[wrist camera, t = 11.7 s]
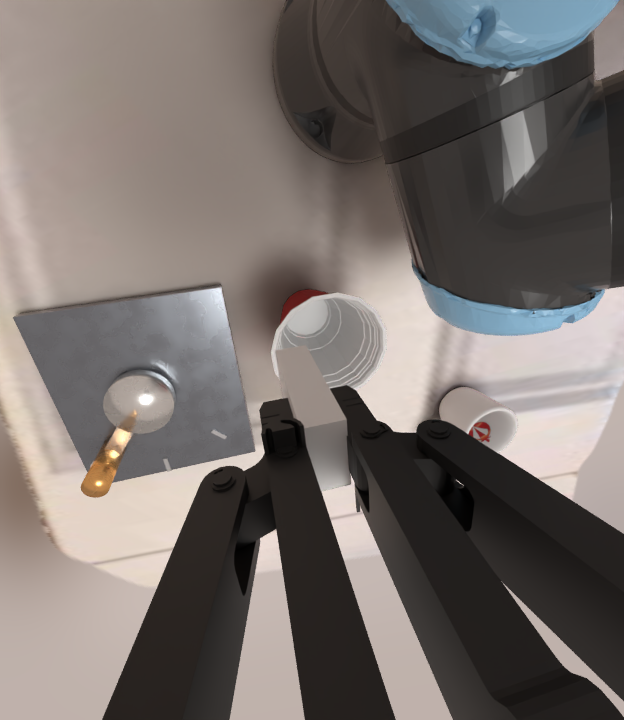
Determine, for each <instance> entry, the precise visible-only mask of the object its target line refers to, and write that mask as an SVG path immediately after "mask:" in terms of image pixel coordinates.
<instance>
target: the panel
mask: <svg viewBox="0 0 624 720" xmlns="http://www.w3.org/2000/svg"><path fill="white" fill-rule="evenodd" d="M13 319H14V321H15V323H16V325H17V327H18V329H19V331H20V333H21V335H22V337H23V339H24V341H25V343H26V346H27V348H28V350H29V352H30V354H31V356H32V358H33V360H34V362H35V364H36V366H37V368H38V370H39V373H40V375H41V377H42V379H43V381H44V383H45V385H46V387H47V389H48V391H49V393H50V395H51V397H52V399H53V402H54V404H55V406H56V408H57V410H58V412H59V414H60V416H61V418H62V420H63V422H64V424H65V426H66V429H67V431H68V433H69V435H70V437H71V439H72V441H73V443H74V445H75V447H76V449H77V451H78V453H79V456H80V458H81V460H82V462H83V464H84V466H85V468H86V470H87V472H88V471H89V469H90V467H91V465H92V464H93V462H94V460H95V458H96V456H97V454H98V452H99V450H100V448H101V447H102V445H103V444H104V443H106V442H108V441H109V440H110V438H111V436H112V435H113V433H114V431H115V429H116V426H115V425H113V424H112V423H111V422H110V421H109V419H108V418H107V416H106V415H105V412H104V409H103V400H104V396H105V394H106V392H107V391H108V389H109V388H110V386H111V385H112V383H113V382H114V381H115V379H116V378H118V377H119V376H120V375H122V374H124V373H126V372H129V371H133V370H148V371H152V372H155V373H158V374H160V375H161V376H163V377H164V378H166V379H167V380H168V381H169V382H170V383H171V385H172V386H173V388H174V391H175V395H176V402H175V406H174V410H173V414H172V416H171V418H170V420H169V421H168V423H167V424H166V425H164V426H163V427H162V428H160V429H158V430H156V431H154V432H150V433H144V434H136V433H133V435H132V436H131V438H130V440H129V442H128V443H127V445H126V447H125V453H124V456H123V458H122V460H121V463H120V465H119V467H118V470H117V472H116V474H115V477H114V479H113V482H118V481H122V480H127V479H131V478H136V477H141V476H145V475H150V474H154V473H159V472H163V471H167V472H168V471H171V470H173V469H177V468H182V467H186V466H191V465H196V464H200V463H205V462H209V461H214V460H219V459H223V458H228V457H232V456H237V455H241V454H246V453H251V452H255V444H254V439H253V434H252V429H251V425H250V420H249V415H248V410H247V405H246V401H245V396H244V391H243V386H242V381H241V377H240V372H239V367H238V362H237V358H236V353H235V348H234V343H233V338H232V334H231V329H230V324H229V319H228V314H227V310H226V305H225V300H224V295H223V291H222V286H221V285H215V286H208V287H201V288H194V289H187V290H180V291H173V292H166V293H159V294H152V295H144V296H137V297H130V298H123V299H116V300H109V301H102V302H95V303H88V304H81V305H74V306H67V307H60V308H53V309H46V310H39V311H32V312H25V313H20V314H18V315H16V316H14V317H13ZM113 482H112V483H113Z"/></svg>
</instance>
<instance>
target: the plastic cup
mask: <svg viewBox="0 0 624 720" xmlns="http://www.w3.org/2000/svg"><path fill="white" fill-rule="evenodd" d="M303 345H306V346H307V348H308V350H309V352H310V354H311V356H312V357H313V359H314V361H315V363H316V365H317V366H318V368H319V370H320V372H321V374H322V375H323V377H324V379H325V381H326V383H327V385H328V386H329V388H335V387H340V386H345V385H348V386H349V387H351V388H353V389H355V390H357V389H359V388H361V387H362V386H364V385H365V384H366V383H367V382H368V381H369V380H370V379H371V377H372V376H373V375H374V374H375V373H376V372H377V371H378V370H379V368H380V365H381V363H382V360H383V358H384V355H385V353H386V350H387V333H386V327H385V325H384V323H383V321H382V319H381V317H380V315H379V313H378V311H377V310H376V309H375V308H373V307H372V306H371V305H369V304H368V303H367V302H365V301H364V300H363V299H362V298H360V297H355V296H351V295H346V294H342V293H337V292H335V293H326V292H321V291H317V290H310V289H307V290H302V291H298V292H296V293H295V294H293V295H292V296H290V297H289V298H288V300H287V301H286V303H285V304H284V306H283V310H282V315H281V320H280V325H279V327H278V328H277V330H276V333H275V337H274V341H273V345H272V349H271V356H272V361H273V366H274V371H275V374H276V375H277V377H278V378H279V372H278V366H277V359H276V353H275V350H280V349H286V348H292V347H297V346H303ZM279 379H280V378H279Z"/></svg>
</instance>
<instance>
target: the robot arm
mask: <svg viewBox="0 0 624 720" xmlns="http://www.w3.org/2000/svg"><path fill="white" fill-rule="evenodd" d="M619 1H620V0H286V2H285V5H284V7H283V10H282V13H281V17H280V20H279V24H278V27H277V31H276V36H275V42H274V51H273V71H274V80H275V86H276V91H277V95H278V98H279V101H280V104H281V107H282V109H283V112H284V114H285V116H286V118H287V120H288V122H289V124H290V125H291V127H292V128H293V130H294V131H295V133H296V134H297V135H298V136H299V137H300V139H301V140H302V141H303V142H304V143H305V144H306V145H307V146H309V147H310V148H311V149H312V150H314V151H315V152H316V153H318V154H320V155H322V156H323V157H325V158H328V159H330V160H334V161H337V162H343V163H359V162H364V161H368V160H371V159H374V158H377V157H380V156H382V155H384V159H385V165H386V168H387V172H388V175H389V178H390V182H391V185H392V189H393V192H394V196H395V199H396V202H397V206H398V209H399V213H400V216H401V220H402V223H403V227H404V231H405V234H406V238H407V242H408V245H409V249H410V253H411V256H412V268H413V271H414V273H415V275H416V276H417V278H418V279H419V280H420V283H421V286H422V289H423V292H424V295H425V298H426V300H427V303H428V305H429V307H430V308H431V309H432V311H433V312H434V313H435V314H436V315H437V316H439V317H441V318H443V319H444V320H445V321H447V322H448V323H449V324H451V325H453V326H455V327H457V328H460V329H463V330H466V331H470V332H475V333H480V334H487V335H500V336H517V335H529V334H536V333H542V332H547V331H551V330H555V329H558V328H560V327H561V325H562V323H563V322H566V323H574V322H576V321H578V320H580V319H582V318H584V317H585V316H587V315H588V314H589V313H591V312H592V311H593V310H594V308H595V307H596V306H597V304H598V303H599V301H600V299H601V298H602V296H603V295H604V292H605V289H609V288H616V287H623V286H624V70H623V71H621V72H618V73H616V74H613V75H611V76H609V77H606V78H604V79H601V80H595V69H594V29H595V28H596V27H597V26H599V24H600V23H601V22H602V20H603V19H604V18H605V17H606V16H607V15H608V14H609V13H610V12H611V11H612V10H613V8H614V7H615V6H616V4H617V3H618V2H619ZM275 353H276V359H277V366H278V372H279V378H280V385H281V391H282V397H283V399H278V400H273V401H268V402H263V404H262V406H261V408H260V410H259V411H260V418H261V424H262V433H261V436H262V441H263V446H264V451H265V454H264V456H263V458H262V459H261V460H260V461H259V462H258V463H257V464H256V465H255V466H253V467H251V468H249V469H247V470H245V471H243V470H242V469H240V468H238V467H236V466H225V467H220V468H218V469H216V470H213V471H212V472H210V473H209V474H208V475H207V476H205V478H204V479H203V481H202V482H201V484H200V486H199V489H198V491H197V493H196V496H195V498H194V501H193V503H192V505H191V508H190V510H189V513H188V515H187V517H186V520H185V522H184V525H183V527H182V529H181V532H180V534H179V537H178V539H177V541H176V544H175V546H174V549H173V551H172V553H171V556H170V558H169V561H168V563H167V565H166V568H165V570H164V573H163V575H162V577H161V580H160V582H159V585H158V587H157V589H156V592H155V594H154V597H153V599H152V601H151V604H150V606H149V609H148V611H147V613H146V616H145V618H144V621H143V623H142V626H141V628H140V630H139V633H138V635H137V637H136V640H135V642H134V645H133V647H132V650H131V652H130V654H129V657H128V659H127V661H126V664H125V666H124V669H123V671H122V674H121V676H120V678H119V680H118V683H117V685H116V688H115V690H114V693H113V695H112V697H111V700H110V702H109V704H108V707H107V709H106V712H105V714H104V716H103V719H102V720H229V719H230V713H231V707H232V702H233V696H234V690H235V684H236V679H237V673H238V667H239V661H240V655H241V650H242V644H243V638H244V632H245V627H246V621H247V615H248V610H249V604H250V597H251V592H252V586H253V581H254V575H255V569H256V564H257V558H258V552H259V546H260V538H261V537H263V536H265V535H266V534H268V533H270V532H271V531H273V530H275V529H277V536H278V543H279V549H280V556H281V563H282V569H283V576H284V582H285V589H286V596H287V603H288V609H289V616H290V623H291V629H292V636H293V642H294V650H295V656H296V663H297V670H298V676H299V683H300V690H301V696H302V703H303V710H304V716H305V720H396V719H395V716H394V713H393V710H392V707H391V704H390V701H389V698H388V695H387V692H386V689H385V686H384V683H383V680H382V677H381V674H380V671H379V668H378V664H377V661H376V658H375V655H374V652H373V649H372V646H371V643H370V640H369V637H368V634H367V631H366V628H365V624H364V621H363V618H362V615H361V612H360V609H359V606H358V603H357V600H356V597H355V594H354V591H353V588H352V585H351V582H350V579H349V576H348V572H347V569H346V566H345V563H344V560H343V557H342V554H341V551H340V548H339V545H338V542H337V539H336V536H335V532H334V529H333V526H332V523H331V520H330V517H329V514H328V511H327V508H326V505H325V502H324V499H323V496H322V493H321V491H326V490H330V489H334V488H338V487H342V486H346V485H350V484H351V476H352V478H353V480H354V482H355V497H356V509H357V512H360V506H361V508H362V511H363V513H364V515H365V518H366V520H367V522H368V525H369V527H370V529H371V532H372V534H373V536H374V538H375V541H376V543H377V545H378V548H379V550H380V552H381V555H382V557H383V559H384V561H385V564H386V566H387V568H388V571H389V573H390V575H391V577H392V580H393V582H394V585H395V587H396V589H397V591H398V594H399V596H400V598H401V601H402V603H403V605H404V607H405V610H406V612H407V614H408V617H409V619H410V621H411V624H412V626H413V628H414V631H415V633H416V635H417V638H418V640H419V642H420V644H421V647H422V649H423V651H424V654H425V656H426V658H427V661H428V663H429V665H430V668H431V670H432V672H433V674H434V677H435V679H436V681H437V684H438V686H439V688H440V691H441V693H442V695H443V697H444V700H445V702H446V704H447V706H448V709H449V711H450V714H451V716H452V718H453V720H624V717H623V716H622V714H621V713H620V712H619V711H618V709H617V708H616V707H615V706H614V704H613V703H612V702H611V701H610V700H609V699H608V698H607V696H606V695H605V694H604V693H603V692H602V691H601V690H600V689H599V688H598V687H597V686H596V685H594V684H593V683H592V682H591V681H589V680H588V679H587V678H584V677H581V676H579V675H576V674H573V673H571V672H569V671H568V670H567V669H566V668H565V667H564V666H562V664H561V663H560V662H559V660H558V659H557V658H556V657H555V655H554V654H553V652H552V651H551V650H550V648H549V647H548V646H547V645H546V643H545V642H544V640H543V639H542V637H541V636H540V634H539V633H538V632H537V630H536V629H535V628H534V626H533V625H532V623H531V622H530V621H529V619H528V618H527V617H526V615H525V614H524V612H523V611H522V610H521V608H520V607H519V605H518V604H517V603H516V601H515V600H514V599H513V597H512V596H511V594H510V593H509V591H508V590H507V589H506V587H505V586H504V585H503V583H504V584H505V585H506V586H507V587H508V588H509V589H510V590H511V591H512V592H513V593H514V594H515V595H516V596H517V597H518V598H519V599H520V600H521V601H522V602H523V603H524V604H525V605H526V606H527V607H528V608H529V609H530V610H531V611H532V612H533V613H534V614H535V615H536V616H537V617H539V619H541V621H543V622H544V623H545V624H546V625H547V626H548V627H549V628H550V629H551V630H552V631H553V632H554V633H555V634H556V635H557V636H558V637H559V638H560V639H561V640H562V641H563V642H564V643H565V644H566V645H567V646H568V647H569V648H570V649H571V650H572V651H573V652H574V653H575V654H576V655H577V656H578V657H579V658H580V659H581V660H582V661H584V663H586V665H587V666H588V667H589V668H590V669H592V671H594V673H596V674H597V675H598V676H599V677H600V678H601V679H602V680H603V681H604V682H605V683H606V684H607V685H608V686H609V687H610V688H611V689H612V690H613V691H614V692H615V693H616V694H617V695H618V696H619V697H620V698H621V699H622V700H623V701H624V534H623V533H621V532H620V531H618V530H617V529H615V528H614V527H612V526H611V525H609V524H607V523H606V522H604V521H603V520H601V519H600V518H598V517H596V516H595V515H593V514H592V513H590V512H589V511H587V510H586V509H584V508H582V507H581V506H579V505H578V504H576V503H575V502H573V501H572V500H570V499H568V498H567V497H565V496H564V495H562V494H561V493H559V492H558V491H556V490H554V489H553V488H551V487H550V486H548V485H547V484H545V483H544V482H542V481H540V480H539V479H537V478H536V477H534V476H533V475H531V474H530V473H528V472H526V471H525V470H523V469H522V468H520V467H519V466H517V465H516V464H514V463H512V462H511V461H509V460H508V459H506V458H505V457H503V456H502V455H500V454H498V453H497V452H495V451H494V450H492V449H491V448H489V447H488V446H486V445H484V444H483V443H481V442H480V441H478V440H477V439H475V438H474V437H472V436H470V435H469V434H467V433H466V432H464V431H463V430H461V429H460V428H458V427H456V426H455V425H453V424H451V423H449V422H447V421H442V420H427V421H424V422H422V423H421V424H419V425H418V427H417V432H416V433H400V432H393V431H392V429H391V428H390V427H389V426H388V425H387V424H385V423H383V422H380V421H377V420H376V419H375V418H374V416H373V415H372V413H371V412H370V410H369V409H368V407H367V406H366V404H365V403H364V402H363V400H362V399H361V398H360V396H359V394H358V393H357V391H356V390H355V389H353V388H351V387H349V386H348V385H345V386H340V387H335V388H329V386H328V385H327V383H326V381H325V379H324V377H323V375H322V374H321V372H320V370H319V368H318V366H317V365H316V363H315V361H314V359H313V357H312V356H311V354H310V352H309V350H308V348H307V346H306V345H303V346H297V347H292V348H286V349H280V350H275ZM350 473H351V476H350ZM456 480H458V481H459V482H460V483H461V484H463V485H464V486H463V485H461V484H460V483H459V482H457V481H456ZM501 581H502V582H503V583H502V582H501Z"/></svg>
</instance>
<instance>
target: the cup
mask: <svg viewBox="0 0 624 720" xmlns="http://www.w3.org/2000/svg"><path fill="white" fill-rule="evenodd" d="M439 414H440V418H441V420H442V421H447V422H449V423H451V424H453V425H455V426H456V427H458V428H460V429H461V430H463V431H464V432H466V433H467V434H469V435H470V436H472V437H474V438H475V439H477V440H478V441H480V442H481V443H483V444H484V445H486V446H488V447H489V448H491V449H492V450H494V451H495V452H497V453H500V452H501V451H502V450H504V449H505V448H506V447H507V446H508V445H509V444H510V443H511V441H512V440H513V438H514V437H515V434H516V432H517V428H518V420H517V417H516V415H515V413H514V412H513V411H512V410H510V409H509V408H507V407H505V406H504V405H502V404H500V403H498V402H496V401H495V400H493V399H491V398H489V397H488V396H486V395H484V394H482V393H480V392H479V391H477V390H475V389H472V388H469V387H460V388H456V389H454V390H452V391H450V392H449V393H448V394H447V395H446V396H445V397H444V398H443V400H442V401H441V404H440V407H439Z"/></svg>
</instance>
